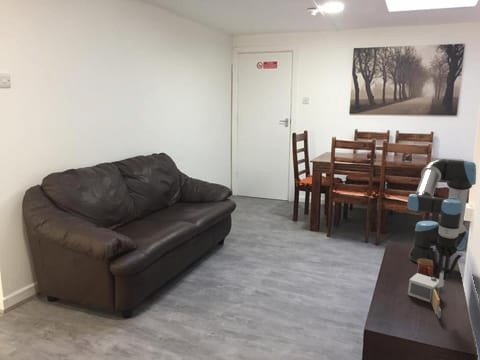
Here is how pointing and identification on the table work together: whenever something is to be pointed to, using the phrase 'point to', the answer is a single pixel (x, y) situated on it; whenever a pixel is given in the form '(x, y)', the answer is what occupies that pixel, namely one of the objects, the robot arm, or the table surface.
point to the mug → (425, 267)
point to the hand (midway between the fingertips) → (440, 285)
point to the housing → (422, 286)
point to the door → (435, 302)
